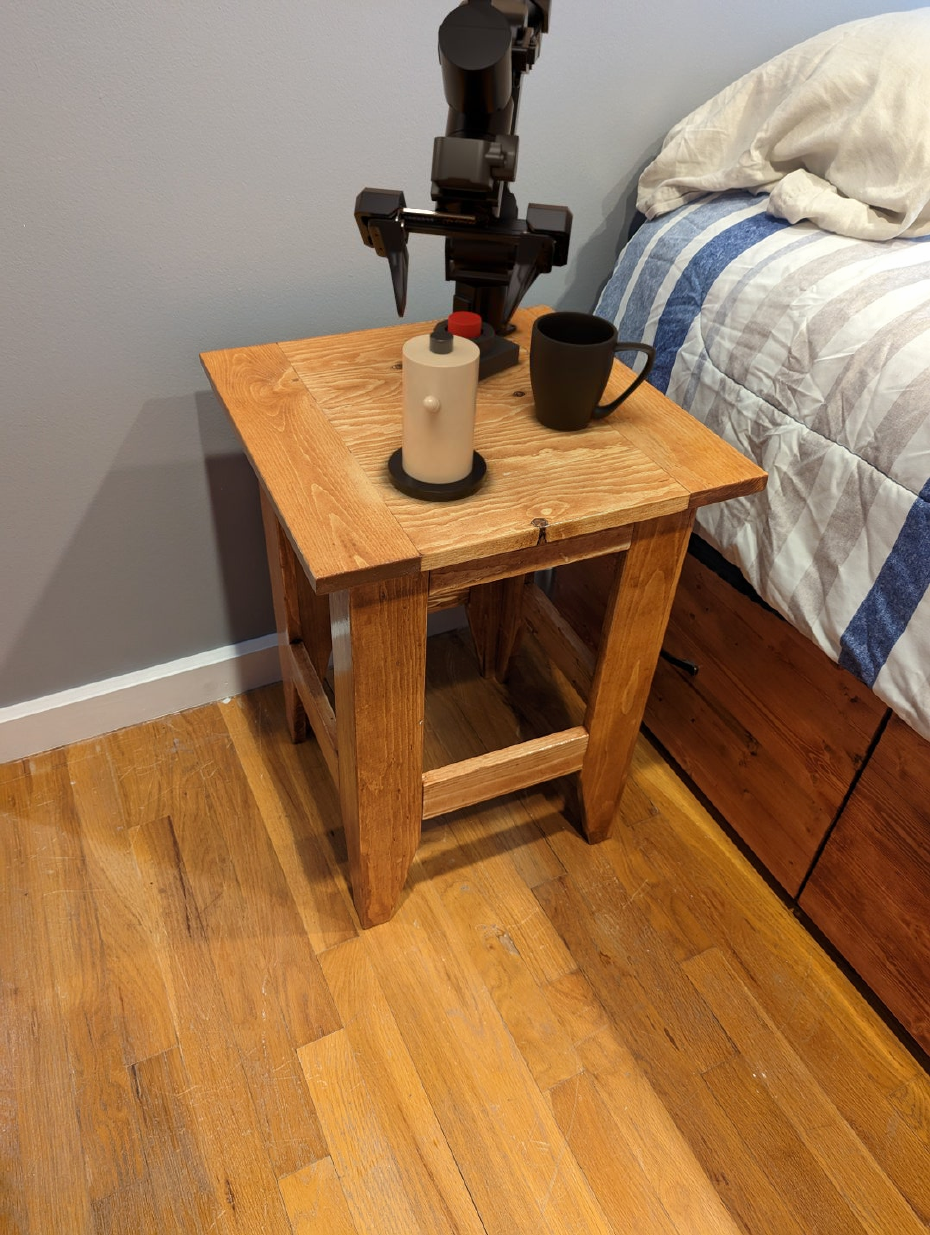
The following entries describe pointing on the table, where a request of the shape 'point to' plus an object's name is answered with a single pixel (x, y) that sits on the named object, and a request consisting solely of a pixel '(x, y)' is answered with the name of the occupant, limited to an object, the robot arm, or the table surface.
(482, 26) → the robot arm
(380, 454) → the table surface
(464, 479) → the plate
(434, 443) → the cream cylinder
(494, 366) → the switch block
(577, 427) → the mug
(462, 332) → the stop button
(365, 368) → the table surface
